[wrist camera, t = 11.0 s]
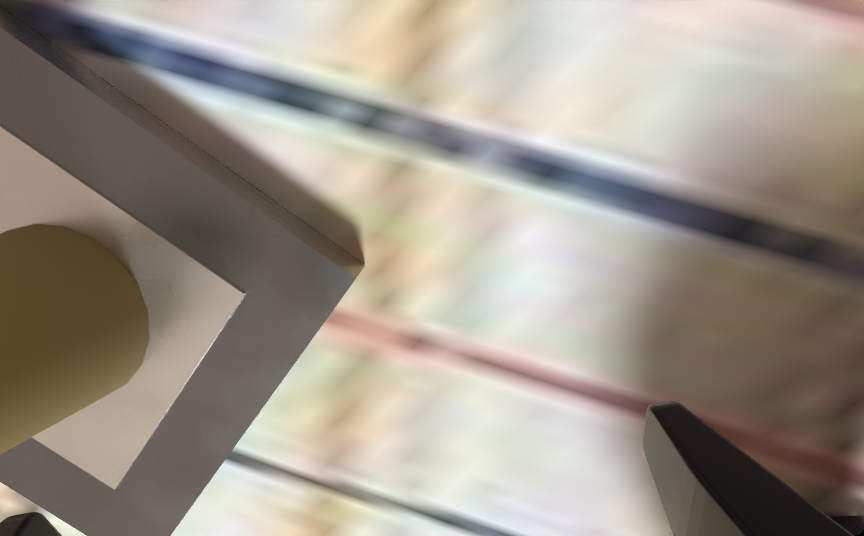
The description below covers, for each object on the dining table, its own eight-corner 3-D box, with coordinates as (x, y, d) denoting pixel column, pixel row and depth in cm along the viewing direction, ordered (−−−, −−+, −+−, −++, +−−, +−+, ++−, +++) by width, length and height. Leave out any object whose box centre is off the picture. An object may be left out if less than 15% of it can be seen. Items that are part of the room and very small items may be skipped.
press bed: (364, 265, 20) (355, 279, 18) (165, 542, 23) (143, 573, 22) (-11, -1, 18) (-56, -11, 17) (-161, 337, 22) (-209, 355, 20)
